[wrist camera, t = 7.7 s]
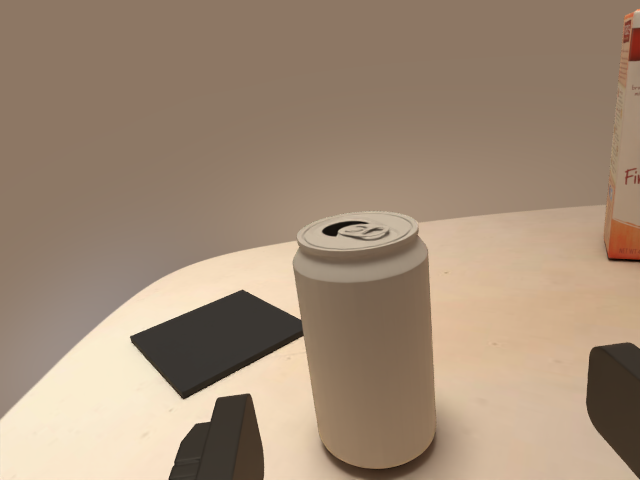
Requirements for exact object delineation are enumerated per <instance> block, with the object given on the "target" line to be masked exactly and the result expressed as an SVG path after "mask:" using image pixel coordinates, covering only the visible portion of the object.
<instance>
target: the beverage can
mask: <svg viewBox="0 0 640 480" xmlns="http://www.w3.org/2000/svg"><path fill="white" fill-rule="evenodd" d="M417 234H418V223H417V221H415V220H414V219H413V218H411V217H409V216H407V215H403V214H399V213H392V212H381V211H379V212H378V211H368V212H354V213H348V214H341V215H336V216H331V217H327V218H324V219H321V220H318V221H315V222H313V223H311V224H309V225H307V226H305V227H304V228H302V229H301V230H300V231H299V232H298V234H297V241H298V245H299V246H300V247H299V249H298V250H297V252H296V254H295V257H294V259H293V268H294V275H295V281H296V288H297V294H298V301H299V307H300V314H301V320H302V327H303V333H304V340H305V346H306V353H307V359H308V366H309V372H310V379H311V385H312V392H313V398H314V405H315V411H316V418H317V424H318V431H319V435H320V438H321V440H322V442H323V444H324V445H325V447H326V448H327V449H328V450H329V451H330V452H331V453H332V454H333V455H334V456H335V457H337V458H339V459H340V460H342V461H344V462H346V463H348V464H351V465H354V466H358V467H362V468H370V469H383V468H391V467H395V466H399V465H402V464H405V463H407V462H409V461H411V460H413V459H415V458H416V457H418V456H419V455H420V454H422V453H423V452H424V451H425V450H426V449H427V447H428V446H429V445H430V443H431V441H432V440H433V437H434V434H435V430H436V410H435V389H434V368H433V347H432V326H431V304H430V283H429V262H428V249H427V247H426V245H425V243H424V242H423V241H422V240H421V238H420V237H419V236H418V235H417Z"/></svg>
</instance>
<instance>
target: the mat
mask: <svg viewBox="0 0 640 480" xmlns="http://www.w3.org/2000/svg"><path fill="white" fill-rule="evenodd" d="M302 335H304V333H303V327H302V320H300V319H298V318H296V317H294V316H292V315H290V314H288V313H286V312H284V311H283V310H281V309H279V308H277V307H275V306H273V305H271V304H269V303H267V302H265V301H263V300H261V299H259V298H258V297H256V296H254V295H252V294H250V293H248V292H246V291H244V290H240V291H238V292H236V293H233V294H231V295H229V296H226V297H224V298H221V299H219V300H217V301H214V302H212V303H209V304H207V305H205V306H202V307H200V308H197V309H195V310H193V311H190V312H188V313H185V314H183V315H181V316H178V317H176V318H173V319H171V320H169V321H166V322H164V323H161V324H159V325H157V326H154V327H152V328H149V329H147V330H145V331H142V332H140V333H137V334H135V335H133V336H130V338H131V341H132V342H133V343H134V345H135V346H136V347H137V348H138V349H139V350H140V351H141V352H142V353H143V355H144V356H145V357H146V358H147V359H148V360H149V361H150V362H151V363H152V364H153V366H154V367H155V368H156V369H157V370H158V371H159V372H160V373H161V374H162V376H163V377H164V378H165V379H166V380H167V381H168V382H169V383H170V384H171V385H172V387H173V388H174V389H175V390H176V391H177V392H178V393H179V394H180V395H181V397H182V398H186V397H188V396H189V395H191V394H193V393H195V392H197V391H199V390H201V389H203V388H204V387H206V386H208V385H210V384H212V383H214V382H216V381H218V380H220V379H221V378H223V377H225V376H227V375H229V374H231V373H233V372H235V371H236V370H238V369H240V368H242V367H244V366H246V365H248V364H250V363H252V362H253V361H255V360H257V359H259V358H261V357H263V356H265V355H267V354H268V353H270V352H272V351H274V350H276V349H278V348H280V347H282V346H284V345H285V344H287V343H289V342H291V341H293V340H295V339H297V338H299V337H300V336H302Z"/></svg>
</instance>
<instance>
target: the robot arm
mask: <svg viewBox="0 0 640 480" xmlns="http://www.w3.org/2000/svg"><path fill="white" fill-rule="evenodd" d="M586 405H587V411H588V414H589V417H590V419H591V422H592V423H593V425H594V427H595V428H596V430H597V431H598V432H599V433H600V434H601V436H602V437H603V438H604V439H605V440H606V441H607V443H608V444H609V445H610V446H611V447H612V448H613V449H614V451H615V452H616V453H617V454H618V455H619V456H620V457H621V459H622V460H623V461H624V462H625V463H626V464H627V465H628V467H629V468H630V469H631V470H632V471H633V472H634V473H635V475H636V476H637V477H638V478H639V479H640V349H639V348H638V347H637V346H635V345H634V344H632V343H628V342H627V343H620V344H612V345H605V346H598V347H594V348H593V349H592V350H591V352H590V356H589V369H588V383H587V398H586ZM174 463H175V464H174V466H173V467H172V470H171V473H170V476H169V480H263V479H264V456H263V447H262V442H261V437H260V433H259V428H258V424H257V419H256V414H255V410H254V405H253V401H252V397H251V395H250V394H241V395H234V396H227V397H219V398H217V400H216V403H215V407H214V410H213V414H212V418H211V422H206V423H198V424H195V426H194V427H193V428H192V429H191V430H190V432H189V433H188V434H187V435H186V437H185V438H184V439H183V440H182V442H181V444H180V447H179V450H178V453H177V456H176V459H175V461H174Z"/></svg>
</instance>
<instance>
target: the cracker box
mask: <svg viewBox="0 0 640 480" xmlns="http://www.w3.org/2000/svg"><path fill="white" fill-rule="evenodd" d="M613 133H614V134H613V143H612V153H611V164H610V175H609V185H608V196H607V206H606V217H605V228H604V240H605V244H606V248H607V253H608V257H609V258H618V259H638V260H640V9H637V10H636V11H635V12H633V13H630V14H628V15H626V16H625V17H624V27H623V39H622V50H621V61H620V70H619V80H618V91H617V101H616V111H615V122H614V132H613Z"/></svg>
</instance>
